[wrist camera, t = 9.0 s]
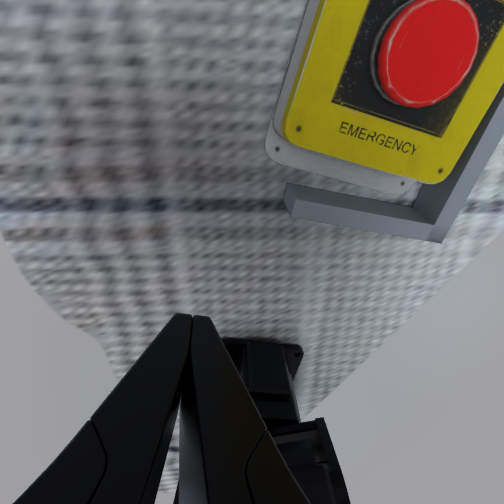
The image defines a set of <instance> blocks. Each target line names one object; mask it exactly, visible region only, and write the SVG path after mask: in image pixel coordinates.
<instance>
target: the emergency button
mask: <svg viewBox="0 0 504 504" xmlns="http://www.w3.org/2000/svg"><path fill="white" fill-rule="evenodd" d="M503 83H504V0H307V2H306V5H305V8H304V12H303V15H302V18H301V22H300V25H299V28H298V32H297V35H296V38H295V41H294V45H293V48H292V51H291V55H290V58H289V61H288V65H287V68H286V71H285V75H284V78H283V81H282V84H281V88H280V91H279V94H278V98H277V101H276V104H275V108H274V111H273V114H272V118H271V121H270V124H269V127H268V131H267V134H266V138H265V150H266V152H267V155H268V157H269V158H270V159H271V160H273V161H274V162H276V163H279V164H282V165H286V166H290V167H293V168H297V169H301V170H304V171H308V172H311V173H315V174H319V175H322V176H326V177H329V178H333V179H337V180H340V181H344V182H347V183H351V184H355V185H358V186H362V187H365V188H369V189H373V190H376V191H380V192H384V193H387V194H391V195H402V194H403V193H405V192H407V191H408V190H410V189H411V187H412V186H413V185H414V184H415V182H416V181H418V182H421V183H425V184H436V183H439V182H441V181H443V180H444V179H445V178H446V177H447V176H448V175H449V174H450V173H451V171H452V169H453V168H454V166H455V164H456V163H457V161H458V159H459V157H460V156H461V154H462V152H463V151H464V149H465V147H466V146H467V144H468V142H469V141H470V139H471V137H472V135H473V134H474V132H475V130H476V129H477V127H478V125H479V124H480V122H481V120H482V118H483V117H484V115H485V113H486V112H487V110H488V108H489V107H490V105H491V103H492V101H493V100H494V98H495V96H496V95H497V93H498V91H499V90H500V88H501V86H502V84H503Z"/></svg>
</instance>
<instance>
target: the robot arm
mask: <svg viewBox="0 0 504 504" xmlns="http://www.w3.org/2000/svg"><path fill="white" fill-rule="evenodd" d="M224 345H227V346H224ZM296 352H298V353H296ZM303 355H304V353H303V349H302V347H300V346H293V345H284V344H275V343H265V342H256V341H247V340H237V339H228V338H225V339H222V340H221V338H220V336H219V334H218V332H217V330H216V328H215V326H214V324H213V322H212V320H211V319H210V317H208V316H200V315H194V316H193V318H192V315H191V314H183V313H176V314H175V315H174V316H173V317H172V318H171V319H170V321H169V322H168V323H167V324H166V326H165V327H164V328H163V329H162V330H161V332H160V333H159V334H158V335H157V337H156V338H155V339H154V340H153V341H152V343H151V344H150V345H149V346H148V348H147V349H146V350H145V351H144V352H143V354H142V355H141V356H140V357H139V359H138V360H137V361H136V362H135V364H134V365H133V366H132V367H131V368H130V370H129V371H128V372H127V373H126V375H125V376H124V377H123V378H122V379H121V381H120V382H119V383H118V384H117V386H116V387H115V388H114V389H113V391H112V392H111V393H110V394H109V395H108V397H107V398H106V399H105V400H104V402H103V403H102V404H101V405H100V406H99V408H98V409H97V410H96V411H95V413H94V414H93V415H92V416H91V418H90V420H88V421H87V422H86V423H85V425H84V426H83V427H82V428H81V430H80V431H79V432H78V433H77V434H76V436H75V437H74V438H73V439H72V440H71V441H70V443H69V444H68V445H67V446H66V447H65V449H64V450H63V451H62V452H61V453H60V454H59V456H58V457H57V458H56V459H55V460H54V461H53V462H52V463H51V464H50V465H49V467H48V468H47V469H46V470H45V471H44V472H43V473H42V474H41V475H40V476H39V477H38V478H37V479H36V480H35V481H34V482H33V483H32V484H31V486H29V488H28V489H27V490H26V491H25V492H24V493H23V494H22V495H21V496H20V497H19V498H18V499H17V500H16V501H15V502H14V503H13V504H154V503H155V499H156V495H157V491H158V488H159V484H160V480H161V476H162V472H163V468H164V464H165V460H166V456H167V453H168V449H169V445H170V441H171V437H172V433H173V429H174V425H175V421H176V418H177V413H178V409H179V404H180V433H179V481H178V485H177V490H176V494H175V499H174V503H173V504H350V500H349V496H348V492H347V488H346V485H345V481H344V477H343V474H342V471H341V468H340V465H339V462H338V459H337V456H336V453H335V450H334V447H333V444H332V441H331V438H330V435H329V433H328V429H327V427H326V423H325V421H324V418H316V419H315V420H313V421H307V422H301V419H300V415H299V410H298V405H297V401H296V396H295V391H294V387H293V379H294V377H295V374H296V372H297V370H298V367H299V365H300V362H301V360H302V358H303ZM180 399H181V401H180Z"/></svg>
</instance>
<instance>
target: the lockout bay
mask: <svg viewBox="0 0 504 504" xmlns="http://www.w3.org/2000/svg"><path fill="white" fill-rule="evenodd" d="M503 134H504V83H503V84H502V86H501V88H500V90H499V91H498V93H497V95H496V96H495V98H494V100H493V101H492V103H491V105H490V107H489V108H488V110H487V112H486V113H485V115H484V117H483V118H482V120H481V122H480V124H479V125H478V127H477V129H476V130H475V132H474V134H473V135H472V137H471V139H470V141H469V142H468V144H467V146H466V147H465V149H464V151H463V152H462V154H461V156H460V157H459V159H458V161H457V163H456V164H455V166H454V168H453V169H452V171H451V173H450V174H449V175H448V176H447V177H446V178H445V179H444V180H443V181H441V182H439V183H436V184H425V183H424V184H423V186H422V188H421V190H420V192H419V194H418V196H417V198H416V201H415V203H414V205H413V207H409V206H403V205H398V204H393V203H388V202H383V201H378V200H373V199H368V198H362V197H357V196H352V195H347V194H342V193H337V192H332V191H326V190H321V189H316V188H311V187H306V186H301V185H296V184H290V183H288V184H287V187H286V191H285V194H284V198H283V200H284V203H285V205H286V207H287V210H288V212H289V215H290V217H293V218H299V219H305V220H310V221H316V222H322V223H327V224H333V225H339V226H344V227H350V228H356V229H361V230H367V231H373V232H378V233H384V234H390V235H395V236H401V237H407V238H412V239H418V240H424V241H429V242H435V243H442V241H443V240H444V238H445V236H446V234H447V233H448V231H449V229H450V227H451V226H452V224H453V222H454V220H455V219H456V217H457V215H458V213H459V211H460V210H461V208H462V206H463V204H464V203H465V201H466V199H467V197H468V196H469V194H470V192H471V190H472V189H473V187H474V185H475V183H476V182H477V180H478V178H479V176H480V175H481V173H482V171H483V169H484V167H485V166H486V164H487V162H488V160H489V159H490V157H491V155H492V153H493V152H494V150H495V148H496V146H497V145H498V143H499V141H500V139H501V138H502V136H503Z"/></svg>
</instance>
